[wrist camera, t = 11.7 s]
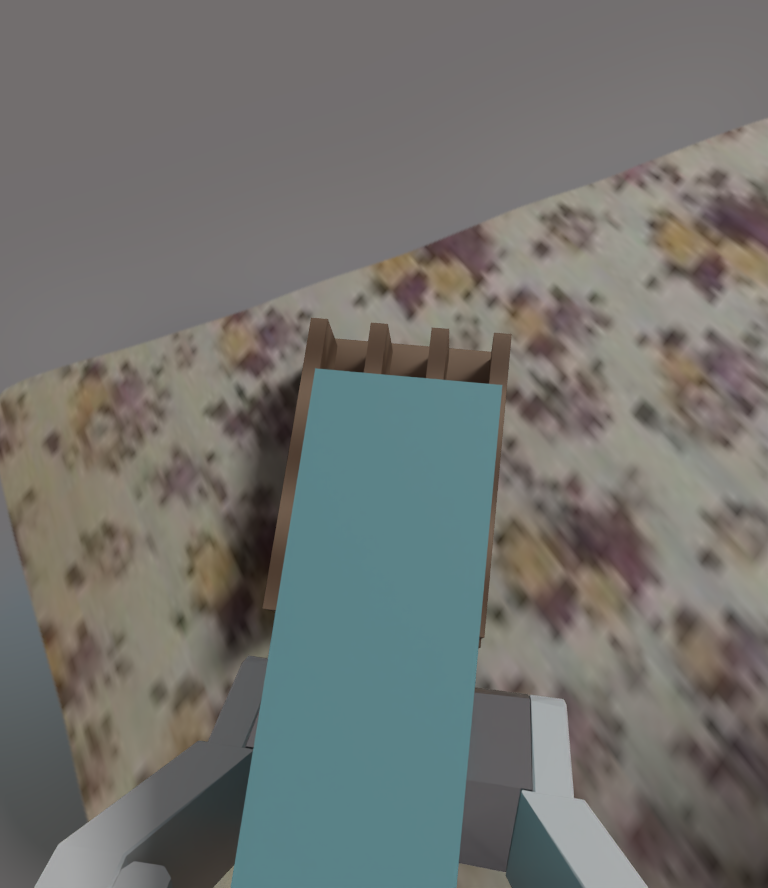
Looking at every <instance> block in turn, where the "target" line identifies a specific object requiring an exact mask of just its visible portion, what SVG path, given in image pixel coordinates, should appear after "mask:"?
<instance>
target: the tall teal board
mask: <svg viewBox="0 0 768 888" xmlns="http://www.w3.org/2000/svg"><path fill="white" fill-rule="evenodd" d="M501 395H502V385H496V384H485V383H473V382H462V381H451V380H440V379H428V378H417V377H406V376H395V375H384V374H372V373H361V372H350V371H339V370H327V369H316V368H315V373H314V379H313V385H312V391H311V398H310V404H309V410H308V416H307V422H306V428H305V435H304V441H303V447H302V453H301V459H300V465H299V471H298V478H297V484H296V490H295V496H294V502H293V508H292V514H291V521H290V527H289V533H288V539H287V545H286V551H285V557H284V564H283V570H282V576H281V582H280V588H279V594H278V600H277V607H276V613H275V619H274V625H273V631H272V637H271V644H270V650H269V656H268V662H267V668H266V674H265V680H264V687H263V693H262V699H261V705H260V711H259V717H258V723H257V730H256V736H255V742H254V748H253V754H252V760H251V766H250V773H249V779H248V785H247V791H246V797H245V803H244V809H243V816H242V822H241V828H240V834H239V840H238V846H237V853H236V859H235V865H234V871H233V877H232V883H231V888H456V886H457V876H458V865H459V854H460V843H461V832H462V821H463V810H464V799H465V788H466V777H467V766H468V755H469V744H470V733H471V723H472V712H473V701H474V690H475V679H476V668H477V657H478V646H479V635H480V624H481V613H482V602H483V591H484V580H485V570H486V559H487V548H488V537H489V526H490V515H491V504H492V493H493V482H494V471H495V460H496V449H497V438H498V427H499V417H500V406H501Z"/></svg>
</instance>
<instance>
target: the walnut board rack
mask: <svg viewBox="0 0 768 888" xmlns="http://www.w3.org/2000/svg"><path fill="white" fill-rule="evenodd" d="M511 335H512V334H503V333H494V337H493V344H492V352H487V351H475V350H463V349H451V348H449V329H442V328H432V331H431V340H430V347H428V346H416V345H404V344H393V343H391V338H390V333H389V328H388V324H381V323H371V326H370V333H369V340H368V341H357V340H346V339H335V338H334V335H333V332H332V330H331V327H330V324H329V321H328V319H320V318H311V322H310V328H309V334H308V340H307V346H306V352H305V358H304V364H303V370H302V376H301V382H300V387H299V393H298V399H297V405H296V411H295V417H294V423H293V429H292V435H291V441H290V447H289V453H288V459H287V465H286V471H285V477H284V483H283V489H282V495H281V501H280V507H279V513H278V519H277V525H276V530H275V536H274V542H273V548H272V554H271V560H270V566H269V572H268V578H267V584H266V590H265V596H264V602H263V609H267V610H271V611H275V612H276V607H277V600H278V594H279V588H280V582H281V576H282V570H283V564H284V557H285V551H286V545H287V539H288V533H289V527H290V521H291V514H292V508H293V502H294V496H295V490H296V484H297V478H298V471H299V465H300V459H301V453H302V447H303V441H304V435H305V428H306V422H307V416H308V410H309V404H310V398H311V391H312V385H313V379H314V373H315V368H316V369H327V370H339V371H350V372H361V373H372V374H384V375H395V376H406V377H417V378H428V379H440V380H451V381H462V382H473V383H485V384H496V385H502V395H501V406H500V417H499V427H498V438H497V449H496V460H495V471H494V482H493V493H492V504H491V515H490V526H489V537H488V548H487V559H486V570H485V580H484V591H483V602H482V613H481V624H480V635H479V646H478V648H480V646H481V639H482V638H484V635H485V624H486V613H487V602H488V591H489V580H490V568H491V557H492V546H493V535H494V524H495V513H496V502H497V491H498V480H499V468H500V457H501V446H502V435H503V424H504V413H505V402H506V391H507V380H508V369H509V357H510V346H511Z"/></svg>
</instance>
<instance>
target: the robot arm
mask: <svg viewBox="0 0 768 888" xmlns="http://www.w3.org/2000/svg"><path fill="white" fill-rule="evenodd" d="M267 662H268V658H261V657H255V656H248V657H247V658H246V659H245V660H244V661H243V663H242V664H241V666H240V669H239V671H238V673H237V676H236V678H235V680H234V683H233V685H232V687H231V690H230V692H229V694H228V696H227V699H226V701H225V703H224V706H223V708H222V710H221V713H220V715H219V717H218V720H217V722H216V724H215V727H214V729H213V731H212V733H211V736H210V738H209V740H208V742H205V741H197V742H196V743H195V744H193V745H192V746H191V747H189V748H188V749H187V750H185V751H184V752H183V753H181V754H180V755H178V756H177V757H176V758H174V759H173V760H172V761H170V762H169V763H168V764H166V765H165V766H164V767H162V768H161V769H160V770H158V771H157V772H156V773H154V774H153V775H151V776H150V777H149V778H147V779H146V780H145V781H143V782H142V783H141V784H139V785H138V786H137V787H135V788H134V789H133V790H131V791H130V792H128V793H127V794H126V795H124V796H123V797H122V798H120V799H119V800H118V801H116V802H115V803H114V804H112V805H111V806H110V807H108V808H107V809H106V810H104V811H103V812H101V813H100V814H99V815H97V816H96V817H95V818H93V819H92V820H91V821H89V822H88V823H87V824H85V825H84V826H83V827H81V828H80V829H78V830H77V831H76V832H75V833H73V834H72V835H71V836H69V837H68V838H66V839H65V840H64V841H62V842H61V843H60V844H59V845H58V846H57V848H56V850H55V852H54V853H53V855H52V857H51V859H50V860H49V862H48V864H47V866H46V867H45V869H44V871H43V873H42V875H41V876H40V878H39V880H38V882H37V883H36V885H35V887H34V888H213V887H214V886H215V885H216V884H217V883H218V882H219V880H220V879H221V878H222V877H223V876H224V875H225V874H226V873H227V872H228V871H229V870H230V869H231V868H232V867H233V866H234V865H235V859H236V853H237V846H238V840H239V834H240V828H241V822H242V816H243V809H244V803H245V797H246V791H247V785H248V779H249V773H250V766H251V760H252V754H253V748H254V742H255V736H256V730H257V723H258V717H259V711H260V705H261V699H262V693H263V687H264V680H265V674H266V668H267ZM459 863H462V864H467V865H472V866H477V867H482V868H487V869H492V870H497V871H502V872H506V877H507V879H508V881H509V883H510V885H511V887H512V888H648V886H647V885H646V884H645V882H644V881H643V880H642V878H641V877H640V875H639V874H638V873H637V871H636V870H635V869H634V867H633V866H632V864H631V863H630V862H629V860H628V859H627V858H626V856H625V855H624V853H623V852H622V851H621V849H620V848H619V847H618V845H617V844H616V842H615V841H614V840H613V838H612V837H611V836H610V834H609V833H608V831H607V830H606V829H605V827H604V826H603V825H602V823H601V822H600V820H599V819H598V818H597V816H596V815H595V814H594V812H593V811H592V809H591V808H590V807H589V805H588V804H587V803H586V801H585V800H582V799H577V798H574V792H573V779H572V767H571V755H570V742H569V730H568V717H567V705H566V703H565V701H564V699H558V698H551V697H543V696H536V695H530V696H529V695H528V694H522V693H515V692H507V691H499V690H491V689H483V688H475V690H474V701H473V712H472V723H471V733H470V744H469V755H468V766H467V777H466V788H465V799H464V810H463V821H462V832H461V843H460V854H459Z"/></svg>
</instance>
